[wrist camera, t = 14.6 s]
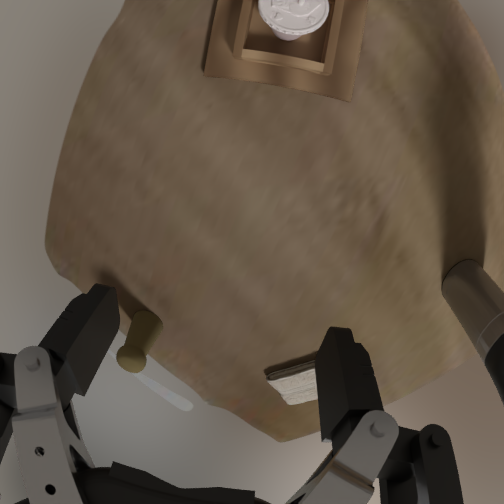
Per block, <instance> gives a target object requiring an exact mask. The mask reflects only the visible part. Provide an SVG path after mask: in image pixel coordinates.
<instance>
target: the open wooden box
mask: <svg viewBox="0 0 504 504" xmlns="http://www.w3.org/2000/svg"><path fill="white" fill-rule="evenodd" d="M258 1H259V0H218V2H217V7H216V12H215V16H214V21H213V26H212V31H211V36H210V42H209V47H208V53H207V58H206V64H205V70H204V76H208V77H219V78H228V79H237V80H244V81H251V82H258V83H265V84H271V85H276V86H282V87H287V88H292V89H297V90H302V91H306V92H311V93H315V94H319V95H323V96H327V97H331V98H335V99H339V100H343V101H346V102H351V97H352V92H353V87H354V82H355V77H356V72H357V66H358V61H359V55H360V49H361V43H362V37H363V31H364V25H365V18H366V11H367V4H368V0H328V3H329V12H328V16H327V18H326V20H325V22H324V23H323V24H322V25H321V27H320V28H318V29H316V30H315V31H313V32H311V33H308V34H303V35H302V36H300V37H299V38H297V39H295V40H291V41H286V40H282V39H280V38H278V37H277V36H276V35H275V34H274V33H273V31H272V29H271V27H270V26H269V25H268V24H267V23H266V22H265V21H264V20H263V18H262V17H261V15H260V13H259V9H258Z"/></svg>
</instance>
